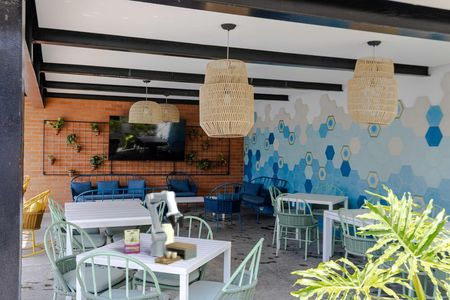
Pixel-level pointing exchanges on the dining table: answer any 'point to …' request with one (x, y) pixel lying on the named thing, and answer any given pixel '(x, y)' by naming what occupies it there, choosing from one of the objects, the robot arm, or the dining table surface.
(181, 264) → the dining table surface
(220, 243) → the dining table surface
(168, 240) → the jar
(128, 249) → the candy bar box
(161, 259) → the tray
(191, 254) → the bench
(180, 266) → the dining table surface
